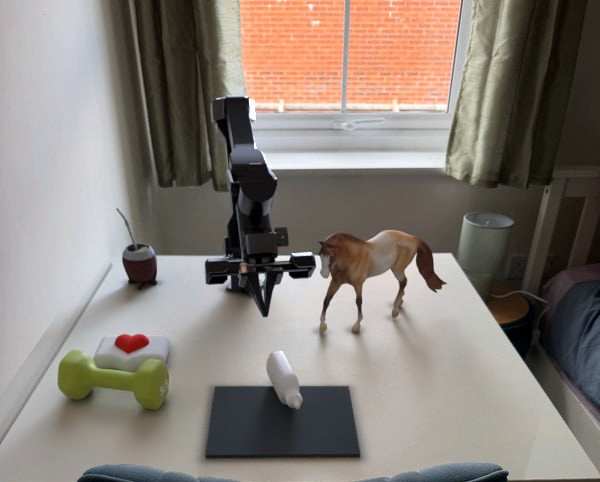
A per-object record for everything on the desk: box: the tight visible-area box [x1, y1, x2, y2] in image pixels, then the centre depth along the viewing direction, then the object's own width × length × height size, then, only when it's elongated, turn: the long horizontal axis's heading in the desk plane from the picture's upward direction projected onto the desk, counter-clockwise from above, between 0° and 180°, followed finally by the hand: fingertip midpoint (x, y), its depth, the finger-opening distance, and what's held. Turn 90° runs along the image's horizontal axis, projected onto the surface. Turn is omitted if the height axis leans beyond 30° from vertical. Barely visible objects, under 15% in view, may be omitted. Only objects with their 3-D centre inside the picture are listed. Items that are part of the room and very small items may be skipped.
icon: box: [92, 333, 171, 373], centre depth 103 cm, size 12×4×10 cm
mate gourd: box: [115, 207, 158, 290], centre depth 126 cm, size 8×8×15 cm
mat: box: [204, 385, 361, 459], centre depth 92 cm, size 17×22×1 cm
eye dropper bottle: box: [266, 350, 303, 409], centre depth 94 cm, size 4×6×12 cm
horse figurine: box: [317, 229, 448, 334], centre depth 112 cm, size 31×8×21 cm, turn 123°
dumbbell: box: [57, 349, 170, 411], centre depth 93 cm, size 16×8×7 cm, turn 79°
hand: (265, 316), depth 102 cm, fingers closed
